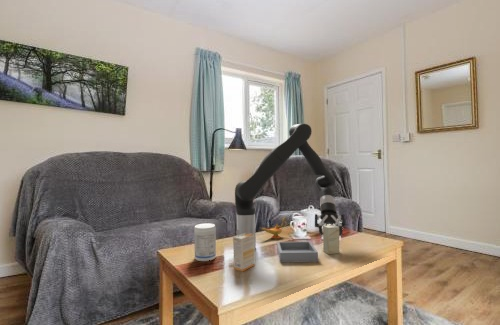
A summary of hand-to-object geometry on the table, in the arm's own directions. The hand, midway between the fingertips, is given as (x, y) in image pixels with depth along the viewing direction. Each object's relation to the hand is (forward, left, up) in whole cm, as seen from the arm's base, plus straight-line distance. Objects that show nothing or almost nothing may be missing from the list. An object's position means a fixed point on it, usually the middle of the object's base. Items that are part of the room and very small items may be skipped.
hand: (330, 234), depth 127 cm
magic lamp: (-25, +25, -8) cm, 37 cm away
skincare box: (0, -1, -8) cm, 8 cm away
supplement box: (-40, -18, -8) cm, 45 cm away
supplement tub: (-58, -7, -8) cm, 59 cm away
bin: (-17, -5, -8) cm, 20 cm away
